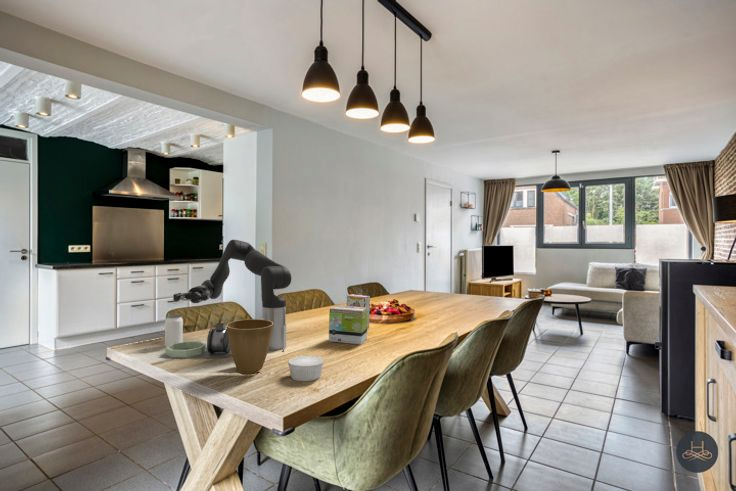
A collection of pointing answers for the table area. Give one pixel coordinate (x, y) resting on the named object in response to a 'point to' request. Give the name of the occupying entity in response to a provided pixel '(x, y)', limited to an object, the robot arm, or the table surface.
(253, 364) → the plant pot
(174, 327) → the can
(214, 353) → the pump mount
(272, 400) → the table surface
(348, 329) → the tea box
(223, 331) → the cylinder
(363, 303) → the candy bar box
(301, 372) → the ramekin
